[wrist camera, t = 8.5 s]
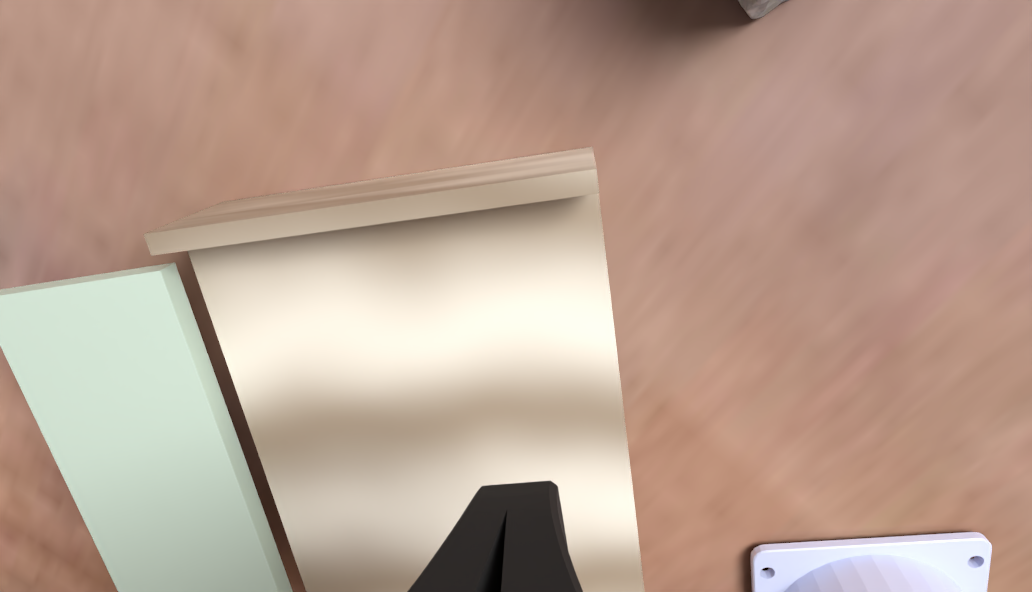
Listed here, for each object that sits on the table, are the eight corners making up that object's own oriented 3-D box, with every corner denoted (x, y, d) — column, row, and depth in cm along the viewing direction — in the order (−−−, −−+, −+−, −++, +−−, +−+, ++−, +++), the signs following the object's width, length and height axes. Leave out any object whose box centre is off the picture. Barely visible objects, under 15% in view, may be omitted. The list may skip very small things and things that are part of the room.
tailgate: (292, 631, 22) (145, 648, 23) (300, 613, 23) (157, 630, 23) (160, 270, 18) (-22, 298, 18) (174, 262, 19) (-1, 289, 19)
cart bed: (641, 567, 24) (652, 660, 20) (344, 584, 26) (305, 673, 22) (592, 146, 19) (596, 168, 15) (222, 201, 20) (143, 234, 17)
